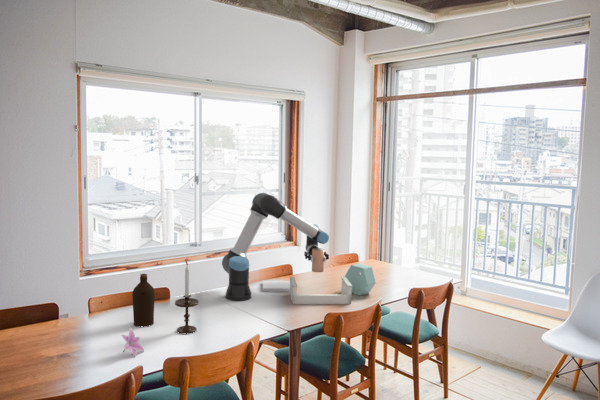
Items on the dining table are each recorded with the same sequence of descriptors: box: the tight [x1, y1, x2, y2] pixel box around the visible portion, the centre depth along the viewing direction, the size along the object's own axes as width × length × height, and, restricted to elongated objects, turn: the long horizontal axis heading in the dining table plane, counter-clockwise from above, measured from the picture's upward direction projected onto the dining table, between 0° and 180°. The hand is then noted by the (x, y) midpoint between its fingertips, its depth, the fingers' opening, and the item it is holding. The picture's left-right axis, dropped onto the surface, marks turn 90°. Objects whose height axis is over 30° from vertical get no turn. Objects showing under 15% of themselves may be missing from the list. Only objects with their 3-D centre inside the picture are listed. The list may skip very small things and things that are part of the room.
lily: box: [120, 327, 145, 357], centre depth 209 cm, size 12×12×10 cm
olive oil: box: [131, 273, 156, 328], centre depth 242 cm, size 11×11×25 cm
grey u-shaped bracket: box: [289, 276, 353, 305], centre depth 293 cm, size 35×20×11 cm, turn 96°
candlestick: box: [174, 260, 199, 335], centre depth 234 cm, size 11×11×35 cm
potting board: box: [261, 280, 290, 293], centre depth 314 cm, size 18×18×2 cm
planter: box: [344, 263, 376, 297], centre depth 307 cm, size 17×8×21 cm
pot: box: [311, 247, 325, 273], centre depth 292 cm, size 7×7×13 cm
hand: (318, 259), depth 289 cm, fingers closed on pot, 7 cm apart
